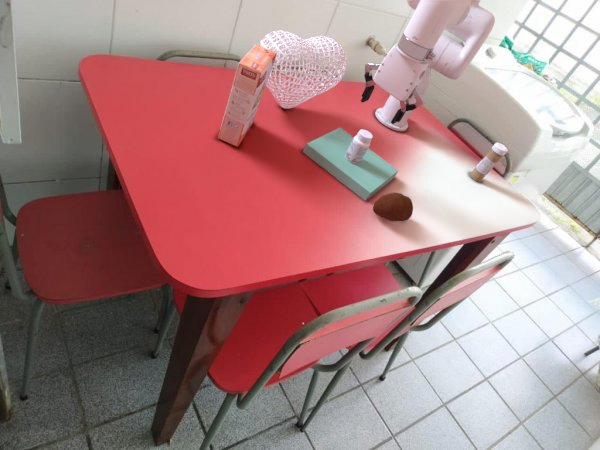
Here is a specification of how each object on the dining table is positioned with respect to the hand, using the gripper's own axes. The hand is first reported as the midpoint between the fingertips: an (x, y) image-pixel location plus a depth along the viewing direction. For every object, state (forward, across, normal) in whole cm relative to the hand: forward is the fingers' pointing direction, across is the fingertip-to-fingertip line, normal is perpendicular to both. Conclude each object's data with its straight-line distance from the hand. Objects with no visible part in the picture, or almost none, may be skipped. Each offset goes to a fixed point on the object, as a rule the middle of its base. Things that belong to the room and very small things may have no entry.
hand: (378, 111), depth 104 cm
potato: (+18, -19, +9) cm, 27 cm away
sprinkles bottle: (+19, -30, -41) cm, 54 cm away
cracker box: (+18, +26, +21) cm, 37 cm away
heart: (+18, +28, -3) cm, 33 cm away
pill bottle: (+15, 0, +2) cm, 15 cm away
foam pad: (+18, 0, +1) cm, 18 cm away
